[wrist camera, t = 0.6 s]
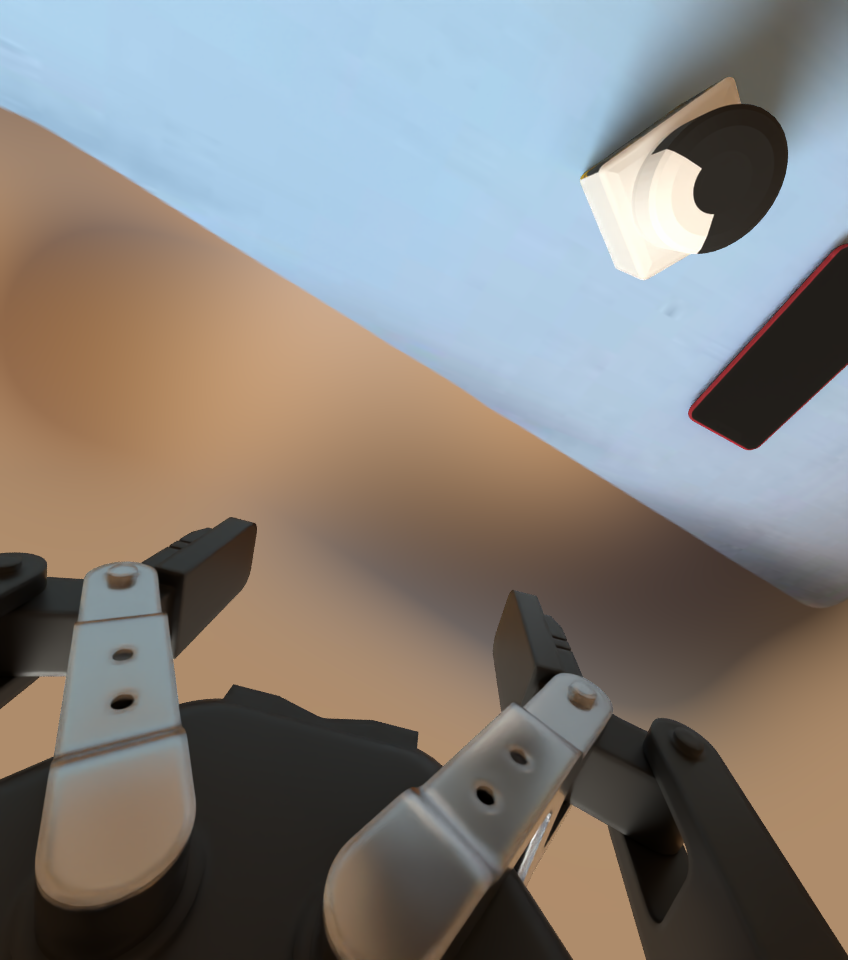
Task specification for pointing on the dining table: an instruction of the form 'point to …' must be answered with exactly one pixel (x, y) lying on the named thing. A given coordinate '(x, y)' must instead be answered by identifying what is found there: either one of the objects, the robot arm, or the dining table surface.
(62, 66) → the dining table surface
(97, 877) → the robot arm
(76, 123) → the dining table surface
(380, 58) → the dining table surface
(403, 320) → the dining table surface
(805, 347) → the smartphone
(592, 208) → the medicine bottle
